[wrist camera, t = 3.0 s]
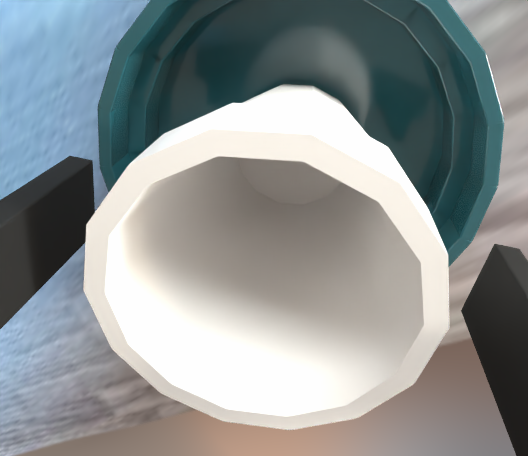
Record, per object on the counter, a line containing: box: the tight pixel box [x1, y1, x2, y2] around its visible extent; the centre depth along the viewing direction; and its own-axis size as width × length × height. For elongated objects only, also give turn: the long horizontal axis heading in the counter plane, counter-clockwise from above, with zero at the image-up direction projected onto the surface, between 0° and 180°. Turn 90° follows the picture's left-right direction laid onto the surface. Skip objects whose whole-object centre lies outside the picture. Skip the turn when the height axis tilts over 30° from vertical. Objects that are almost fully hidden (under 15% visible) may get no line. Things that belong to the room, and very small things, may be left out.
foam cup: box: [84, 84, 449, 430], centre depth 17 cm, size 10×9×13 cm
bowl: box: [98, 0, 504, 267], centre depth 21 cm, size 17×17×4 cm
